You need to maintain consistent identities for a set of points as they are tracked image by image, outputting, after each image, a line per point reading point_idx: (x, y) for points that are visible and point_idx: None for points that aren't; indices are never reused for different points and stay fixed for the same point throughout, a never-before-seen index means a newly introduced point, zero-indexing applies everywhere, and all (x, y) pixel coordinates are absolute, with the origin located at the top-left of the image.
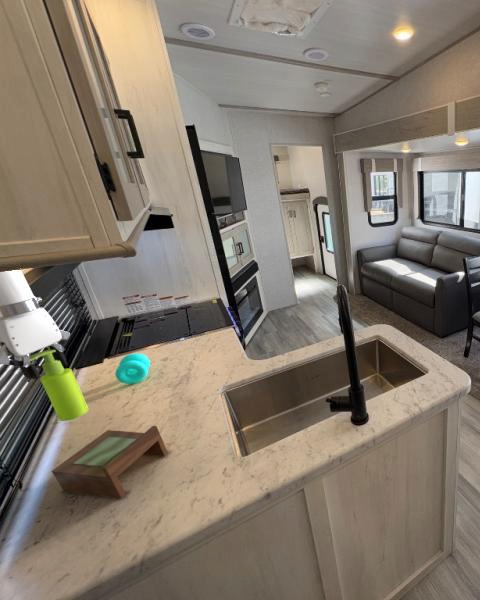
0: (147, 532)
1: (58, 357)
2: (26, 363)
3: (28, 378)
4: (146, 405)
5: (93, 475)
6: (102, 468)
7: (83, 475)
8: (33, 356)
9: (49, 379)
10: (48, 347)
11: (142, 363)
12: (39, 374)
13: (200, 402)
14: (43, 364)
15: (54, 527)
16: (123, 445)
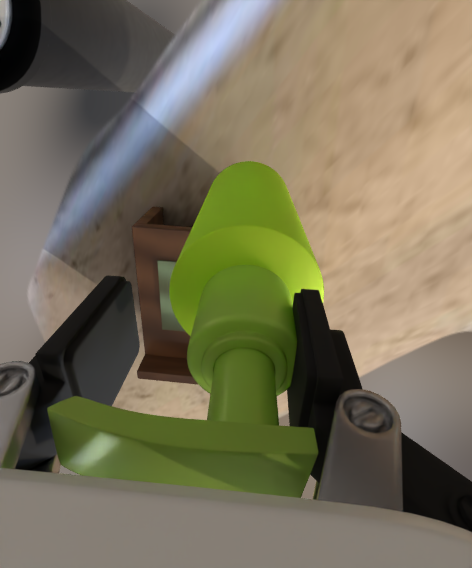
0: (128, 393)
1: (291, 408)
2: (29, 470)
3: (109, 277)
4: (463, 138)
5: (143, 328)
6: (137, 372)
7: (140, 306)
8: (113, 467)
9: (182, 326)
10: (321, 477)
11: None
12: (130, 365)
13: (430, 304)
14: (205, 342)
15: (98, 267)
16: None
